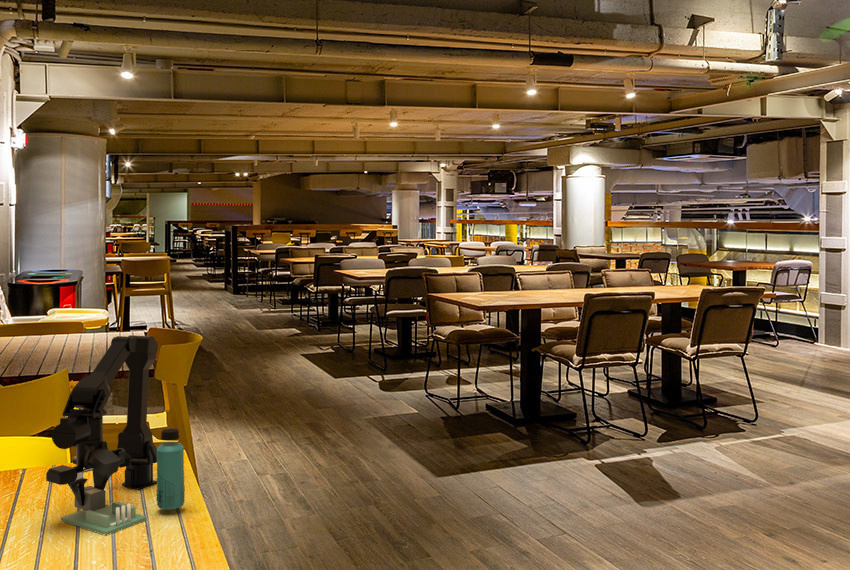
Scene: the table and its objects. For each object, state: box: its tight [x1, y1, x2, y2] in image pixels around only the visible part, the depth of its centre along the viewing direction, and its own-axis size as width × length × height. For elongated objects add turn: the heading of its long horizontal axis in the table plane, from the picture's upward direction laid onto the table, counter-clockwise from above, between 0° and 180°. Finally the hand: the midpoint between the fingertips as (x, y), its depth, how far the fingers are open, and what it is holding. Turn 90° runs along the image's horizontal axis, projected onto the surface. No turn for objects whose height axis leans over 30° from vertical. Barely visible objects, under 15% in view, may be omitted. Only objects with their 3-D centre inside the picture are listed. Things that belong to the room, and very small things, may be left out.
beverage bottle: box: [155, 428, 186, 510], centre depth 184 cm, size 6×7×20 cm
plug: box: [74, 485, 107, 511], centre depth 180 cm, size 6×4×4 cm, turn 57°
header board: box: [60, 500, 148, 536], centre depth 178 cm, size 16×11×5 cm
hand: (90, 502), depth 180 cm, fingers closed on plug, 4 cm apart
